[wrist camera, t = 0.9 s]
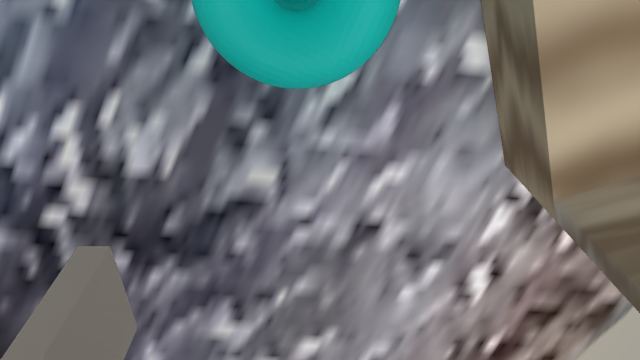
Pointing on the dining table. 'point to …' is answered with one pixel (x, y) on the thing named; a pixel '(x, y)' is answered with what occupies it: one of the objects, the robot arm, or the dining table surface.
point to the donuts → (296, 37)
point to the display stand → (574, 119)
